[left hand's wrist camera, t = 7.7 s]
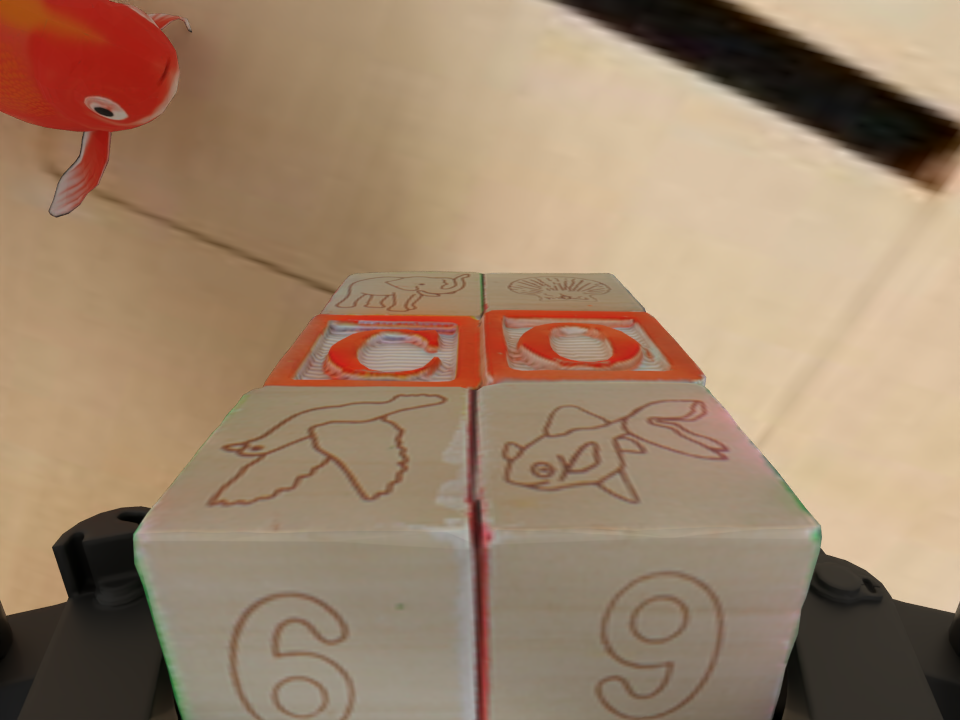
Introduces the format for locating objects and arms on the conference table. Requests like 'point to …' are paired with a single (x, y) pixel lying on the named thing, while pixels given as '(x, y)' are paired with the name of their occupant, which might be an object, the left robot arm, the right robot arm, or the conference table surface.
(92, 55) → the fish
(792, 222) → the conference table surface
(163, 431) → the conference table surface
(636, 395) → the stack of blocks
